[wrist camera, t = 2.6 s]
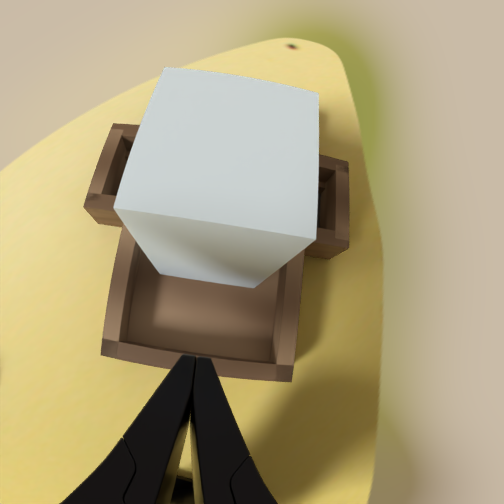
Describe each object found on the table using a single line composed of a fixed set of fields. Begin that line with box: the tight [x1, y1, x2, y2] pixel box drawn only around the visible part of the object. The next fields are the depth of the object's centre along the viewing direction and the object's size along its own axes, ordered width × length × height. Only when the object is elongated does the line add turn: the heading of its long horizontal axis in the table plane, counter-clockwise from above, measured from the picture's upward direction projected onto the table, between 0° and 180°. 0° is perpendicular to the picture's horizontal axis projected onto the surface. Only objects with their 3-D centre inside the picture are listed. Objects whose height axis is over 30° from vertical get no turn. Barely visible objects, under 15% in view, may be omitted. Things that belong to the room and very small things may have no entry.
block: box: [113, 67, 319, 288], centre depth 15 cm, size 6×6×11 cm
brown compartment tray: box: [83, 123, 349, 382], centre depth 20 cm, size 20×17×3 cm
